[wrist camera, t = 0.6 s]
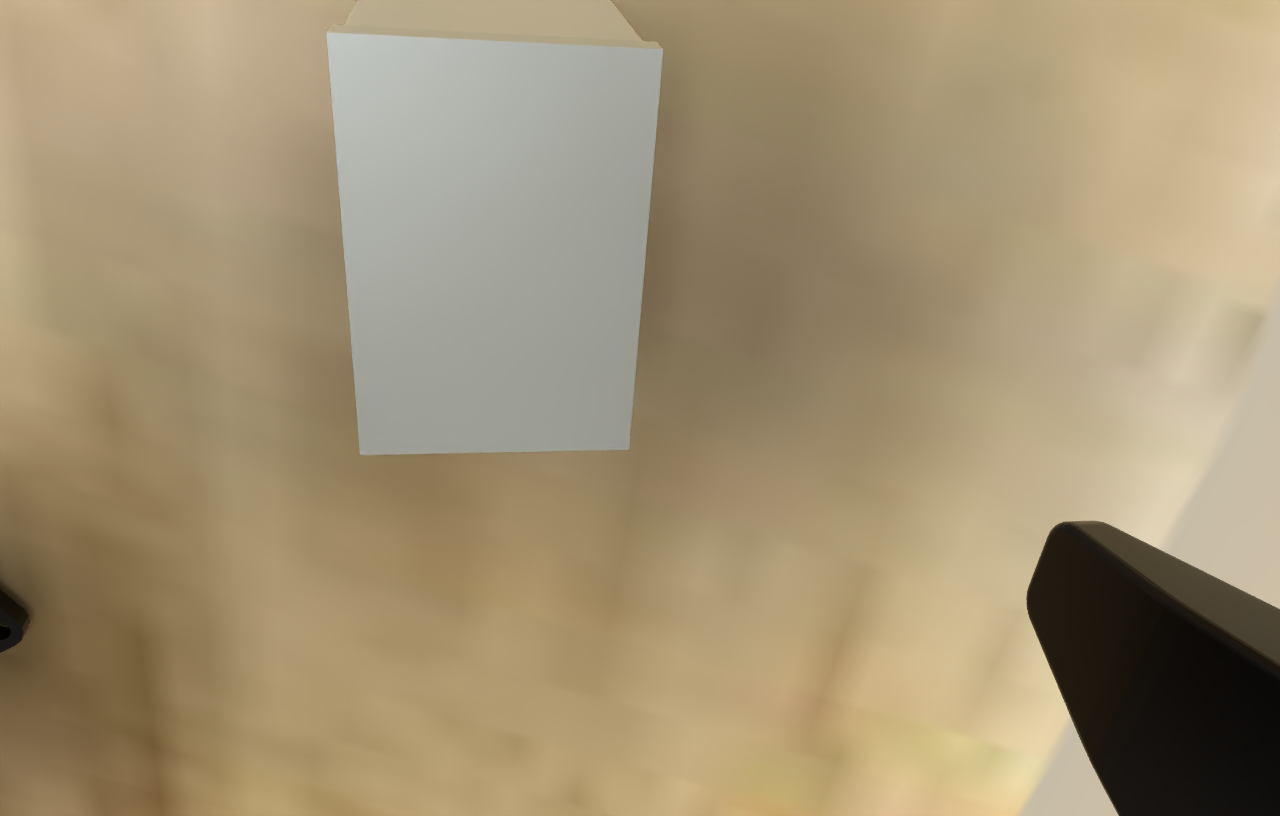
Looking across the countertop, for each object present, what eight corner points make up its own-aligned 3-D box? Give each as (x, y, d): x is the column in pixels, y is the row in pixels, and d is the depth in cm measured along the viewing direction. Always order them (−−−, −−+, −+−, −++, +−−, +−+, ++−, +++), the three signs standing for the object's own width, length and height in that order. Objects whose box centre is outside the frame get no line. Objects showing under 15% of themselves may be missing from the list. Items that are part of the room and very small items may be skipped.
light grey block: (592, 312, 20) (629, 450, 16) (381, 311, 20) (360, 455, 15) (611, -12, 17) (663, 49, 13) (361, -27, 16) (326, 32, 12)
